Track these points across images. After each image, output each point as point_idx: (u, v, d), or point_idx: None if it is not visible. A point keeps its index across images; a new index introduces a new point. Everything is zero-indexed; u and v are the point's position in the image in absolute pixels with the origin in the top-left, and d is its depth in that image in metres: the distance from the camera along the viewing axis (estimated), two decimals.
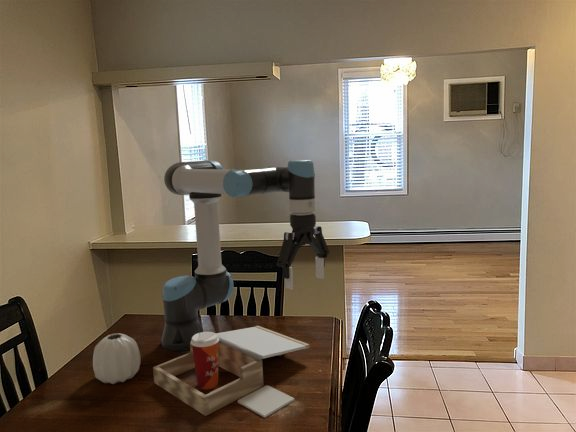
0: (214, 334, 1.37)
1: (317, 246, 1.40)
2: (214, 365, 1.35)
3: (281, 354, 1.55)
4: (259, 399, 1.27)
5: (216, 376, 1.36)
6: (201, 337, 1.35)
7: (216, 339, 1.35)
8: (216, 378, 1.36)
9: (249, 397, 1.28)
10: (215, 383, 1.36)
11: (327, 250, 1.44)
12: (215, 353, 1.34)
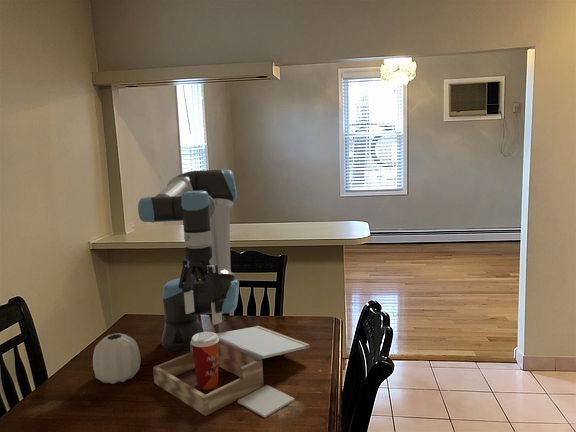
0: (214, 334, 1.37)
1: (207, 286, 1.29)
2: (214, 365, 1.35)
3: (281, 354, 1.55)
4: (259, 399, 1.27)
5: (216, 376, 1.36)
6: (201, 337, 1.35)
7: (216, 339, 1.35)
8: (216, 378, 1.36)
9: (249, 397, 1.28)
10: (215, 383, 1.36)
11: (217, 296, 1.26)
12: (215, 353, 1.34)
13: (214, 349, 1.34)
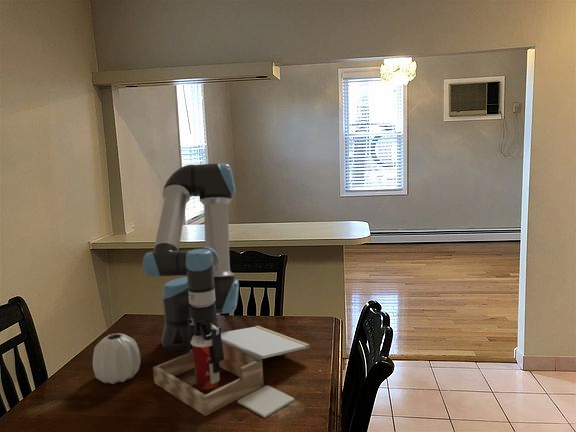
0: None
1: None
2: None
3: (281, 354, 1.55)
4: (259, 399, 1.27)
5: None
6: (201, 337, 1.35)
7: None
8: None
9: (249, 397, 1.28)
10: (215, 383, 1.36)
11: (215, 358, 1.31)
12: None
13: None
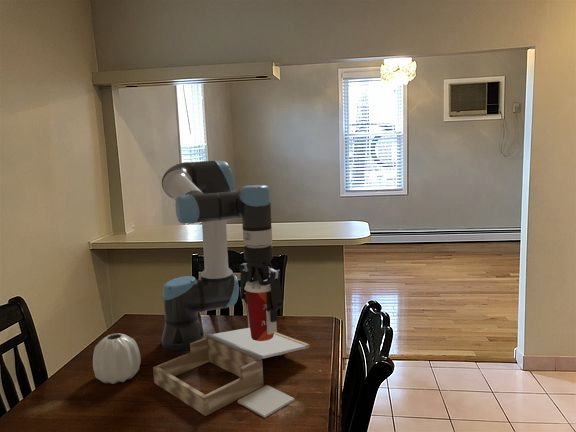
0: None
1: None
2: None
3: (281, 354, 1.55)
4: (259, 399, 1.27)
5: None
6: (256, 283, 1.21)
7: None
8: None
9: (249, 397, 1.28)
10: (271, 334, 1.22)
11: (274, 304, 1.17)
12: None
13: None
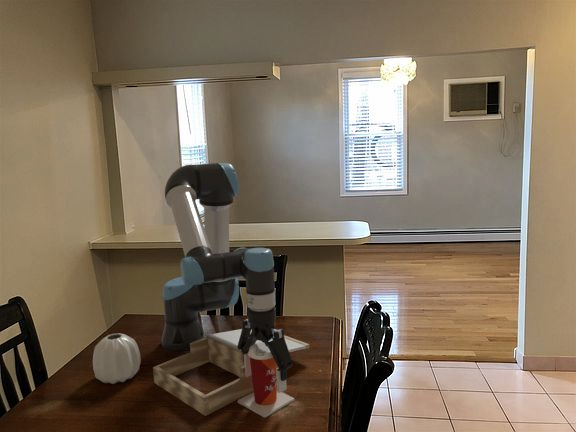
0: None
1: (271, 351, 1.21)
2: (274, 379, 1.24)
3: None
4: None
5: (275, 391, 1.25)
6: (259, 348, 1.24)
7: None
8: (275, 393, 1.26)
9: (249, 397, 1.28)
10: (274, 398, 1.25)
11: (284, 364, 1.18)
12: (275, 366, 1.24)
13: (274, 362, 1.23)
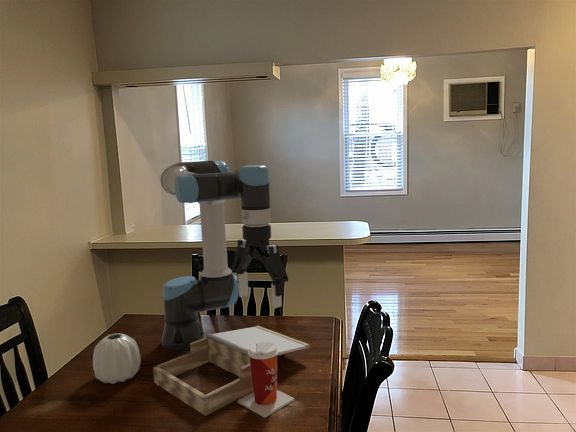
0: (273, 345, 1.26)
1: (266, 267, 1.20)
2: (274, 378, 1.24)
3: (281, 354, 1.55)
4: None
5: (275, 390, 1.25)
6: (259, 348, 1.24)
7: (276, 350, 1.24)
8: (275, 393, 1.26)
9: (249, 397, 1.28)
10: (274, 398, 1.25)
11: (279, 278, 1.17)
12: (275, 366, 1.24)
13: (274, 361, 1.23)
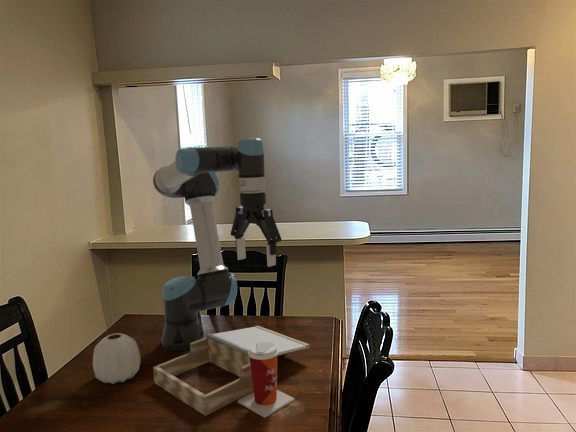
0: (273, 345, 1.26)
1: (262, 229, 1.34)
2: (274, 378, 1.24)
3: (281, 354, 1.55)
4: None
5: (275, 390, 1.25)
6: (260, 348, 1.24)
7: (276, 351, 1.24)
8: (275, 393, 1.26)
9: (249, 397, 1.28)
10: (274, 398, 1.25)
11: (273, 238, 1.31)
12: (275, 366, 1.24)
13: (274, 361, 1.23)
